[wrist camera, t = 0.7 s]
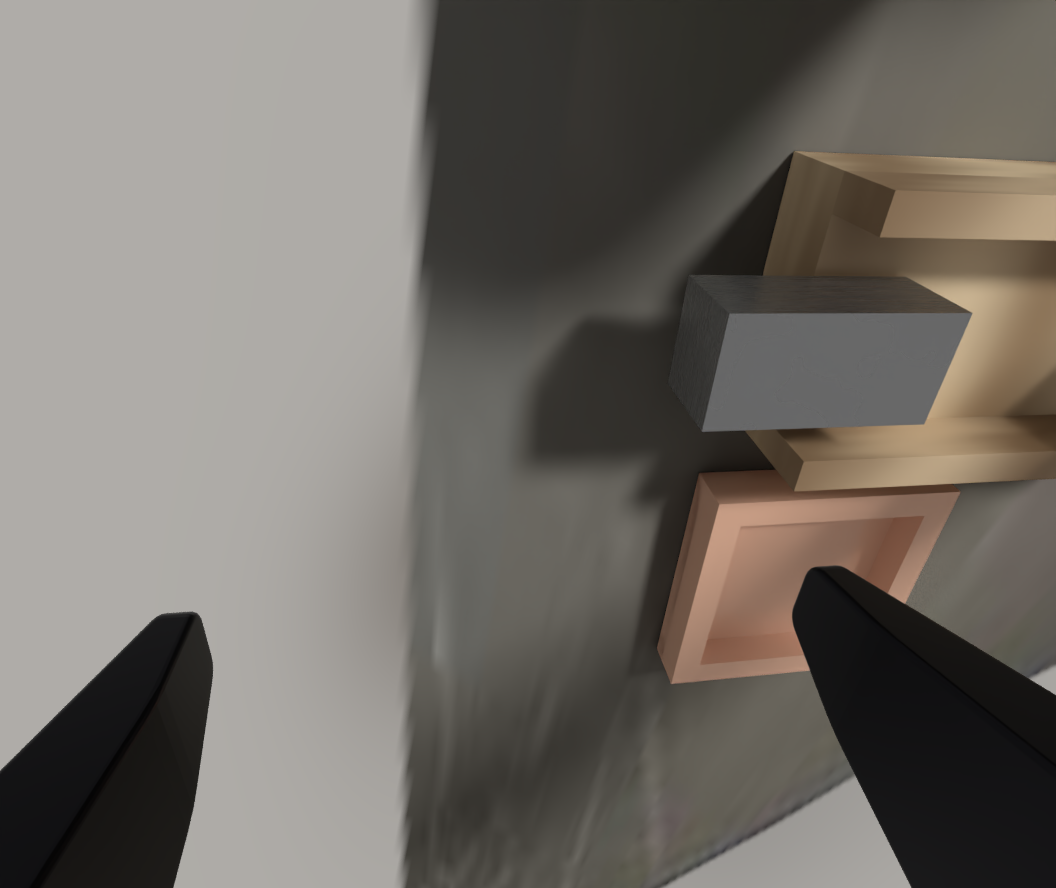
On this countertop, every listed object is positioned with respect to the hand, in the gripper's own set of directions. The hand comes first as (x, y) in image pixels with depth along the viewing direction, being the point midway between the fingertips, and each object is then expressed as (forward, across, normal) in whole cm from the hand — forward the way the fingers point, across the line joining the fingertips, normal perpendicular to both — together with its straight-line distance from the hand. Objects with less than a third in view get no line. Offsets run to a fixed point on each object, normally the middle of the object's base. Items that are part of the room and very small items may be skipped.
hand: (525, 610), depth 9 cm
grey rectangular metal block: (+10, -9, 0) cm, 13 cm away
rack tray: (+12, -13, +11) cm, 21 cm away
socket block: (+12, -17, 0) cm, 21 cm away
